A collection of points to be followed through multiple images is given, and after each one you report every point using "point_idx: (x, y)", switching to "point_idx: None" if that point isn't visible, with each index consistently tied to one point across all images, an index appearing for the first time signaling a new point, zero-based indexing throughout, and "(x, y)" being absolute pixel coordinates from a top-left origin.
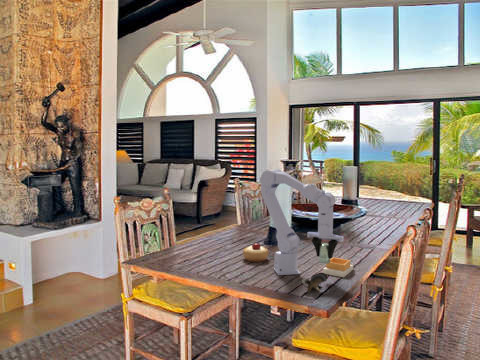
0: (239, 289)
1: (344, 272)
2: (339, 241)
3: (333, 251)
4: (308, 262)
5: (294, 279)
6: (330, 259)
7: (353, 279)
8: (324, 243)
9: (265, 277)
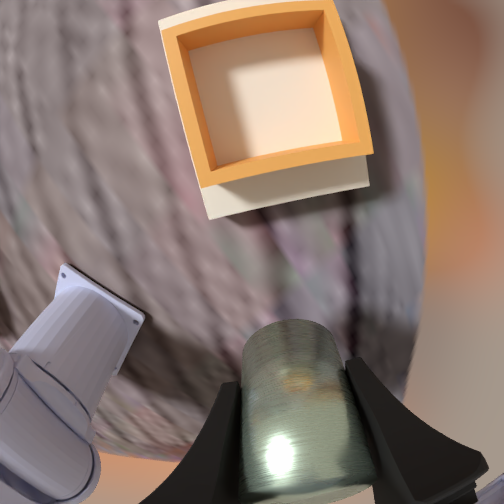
0: (166, 459)
1: (367, 175)
2: (486, 488)
3: (390, 399)
4: (38, 117)
5: (185, 372)
6: (182, 95)
7: (408, 173)
8: (271, 488)
9: (115, 400)
